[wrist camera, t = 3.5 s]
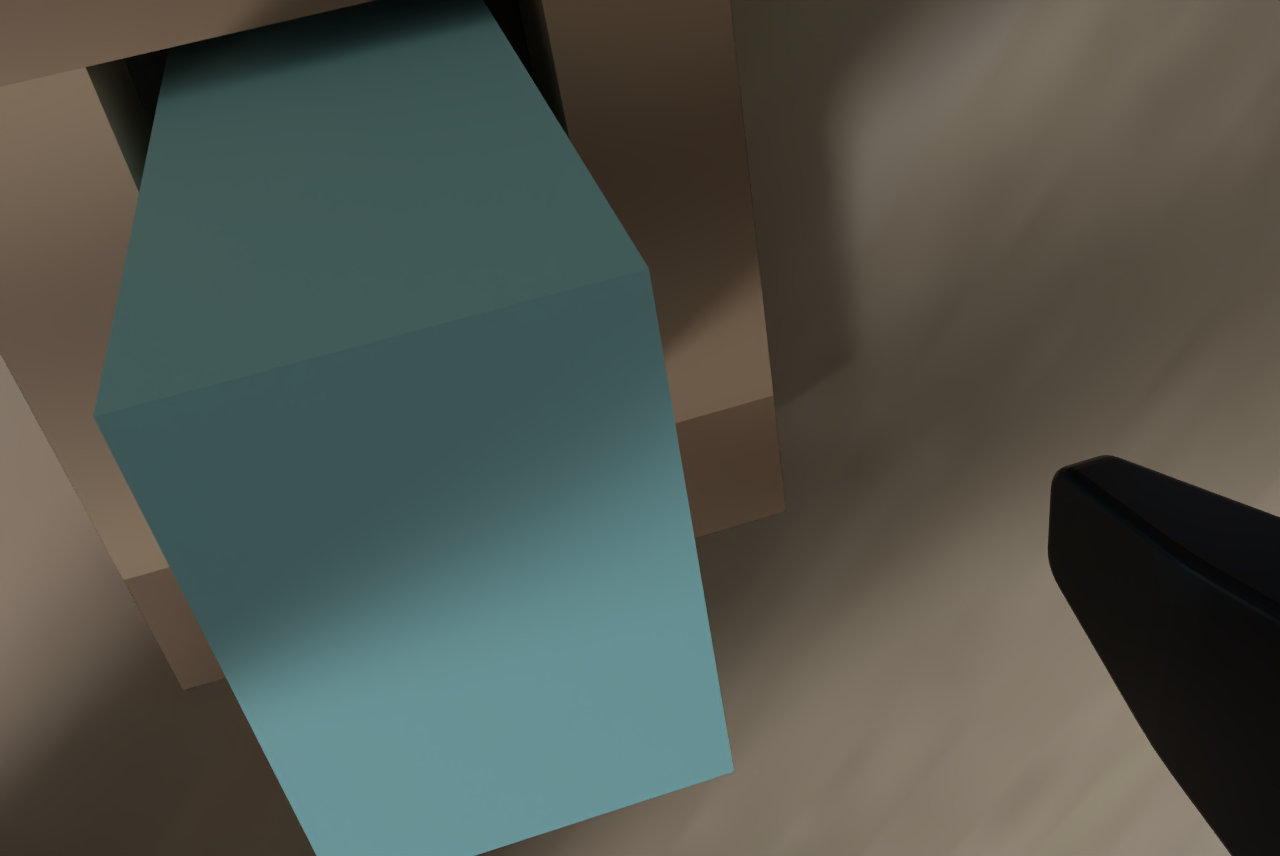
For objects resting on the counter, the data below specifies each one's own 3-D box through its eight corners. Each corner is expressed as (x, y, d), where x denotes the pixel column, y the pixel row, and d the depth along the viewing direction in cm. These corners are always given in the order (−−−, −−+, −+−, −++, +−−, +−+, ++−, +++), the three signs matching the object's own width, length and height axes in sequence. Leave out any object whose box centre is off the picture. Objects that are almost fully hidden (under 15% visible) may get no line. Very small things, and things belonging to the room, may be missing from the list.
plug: (551, 339, 17) (733, 771, 11) (306, 406, 17) (339, 899, 10) (469, -23, 14) (649, 267, 8) (169, 47, 14) (92, 416, 7)
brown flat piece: (740, 435, 19) (785, 511, 17) (190, 593, 18) (183, 690, 16) (641, -311, 13) (697, -303, 11) (-182, -143, 12) (-251, -108, 10)
